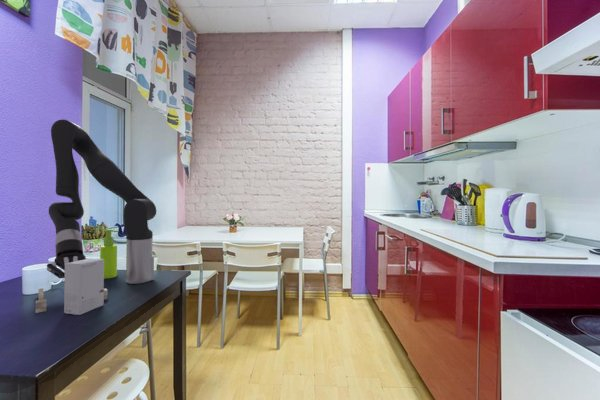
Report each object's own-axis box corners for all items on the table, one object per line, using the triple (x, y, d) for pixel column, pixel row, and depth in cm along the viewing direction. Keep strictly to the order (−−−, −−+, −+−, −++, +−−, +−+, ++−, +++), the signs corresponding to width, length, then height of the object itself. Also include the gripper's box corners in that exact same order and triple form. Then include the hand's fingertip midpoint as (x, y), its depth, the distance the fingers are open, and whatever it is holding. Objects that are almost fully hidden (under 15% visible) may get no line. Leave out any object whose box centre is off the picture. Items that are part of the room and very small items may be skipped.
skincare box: (79, 315, 81) (79, 264, 81) (62, 313, 83) (62, 263, 82) (105, 304, 90) (105, 258, 89) (89, 303, 91) (89, 257, 91)
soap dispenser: (113, 278, 117) (113, 230, 117) (96, 278, 117) (96, 230, 117) (122, 274, 123) (122, 228, 122) (106, 274, 123) (106, 228, 122)
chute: (99, 286, 107) (99, 278, 107) (107, 298, 95) (107, 290, 94) (36, 296, 96) (36, 287, 95) (35, 313, 83) (35, 303, 83)
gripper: (44, 240, 96) (45, 284, 87) (92, 236, 105) (97, 276, 96) (44, 253, 100) (45, 296, 91) (90, 248, 109) (95, 288, 100)
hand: (72, 286), depth 94 cm, fingers closed
